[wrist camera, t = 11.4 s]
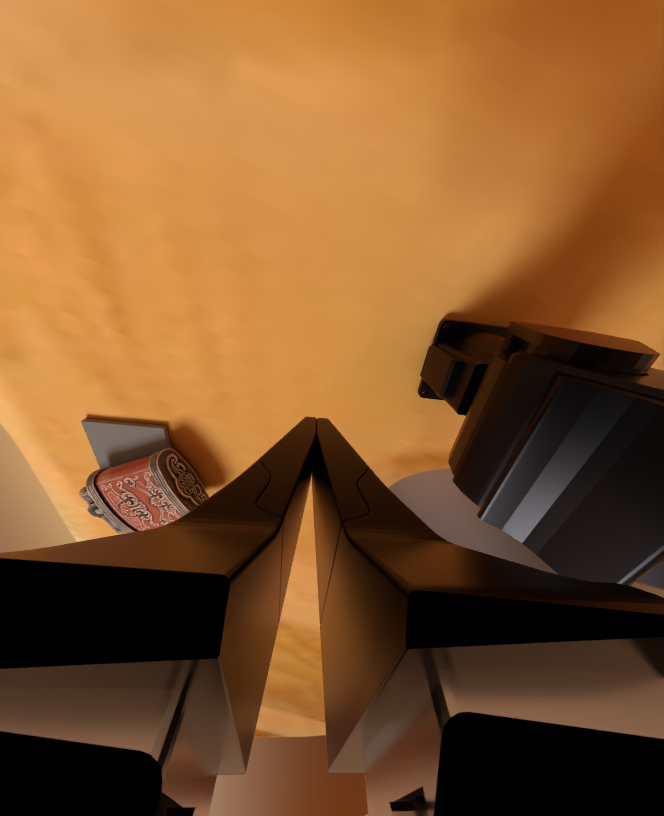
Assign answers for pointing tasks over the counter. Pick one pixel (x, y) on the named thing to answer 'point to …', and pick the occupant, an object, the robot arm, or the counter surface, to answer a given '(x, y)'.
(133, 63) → the counter surface
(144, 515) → the lighter
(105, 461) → the mat
